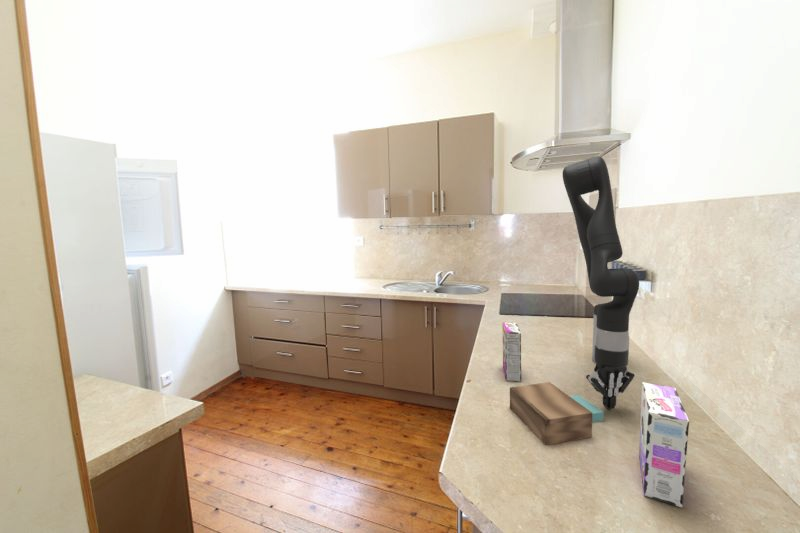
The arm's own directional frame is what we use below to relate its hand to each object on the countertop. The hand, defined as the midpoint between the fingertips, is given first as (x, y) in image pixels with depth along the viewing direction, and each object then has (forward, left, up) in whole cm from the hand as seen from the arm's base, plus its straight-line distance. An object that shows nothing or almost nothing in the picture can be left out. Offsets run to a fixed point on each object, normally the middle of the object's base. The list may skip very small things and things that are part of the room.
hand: (608, 407), depth 89 cm
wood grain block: (+17, +1, -1) cm, 18 cm away
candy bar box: (+13, -26, -1) cm, 30 cm away
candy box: (+9, +23, -1) cm, 24 cm away
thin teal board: (+13, -1, -1) cm, 13 cm away
